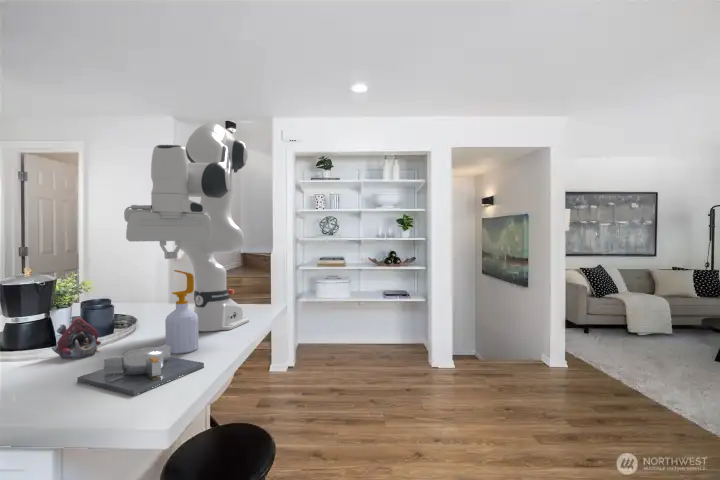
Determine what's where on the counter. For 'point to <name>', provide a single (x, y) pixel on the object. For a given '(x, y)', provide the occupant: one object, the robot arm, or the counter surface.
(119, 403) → the counter surface
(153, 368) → the grey disc housing
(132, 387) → the base plate
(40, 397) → the counter surface
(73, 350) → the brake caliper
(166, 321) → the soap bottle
